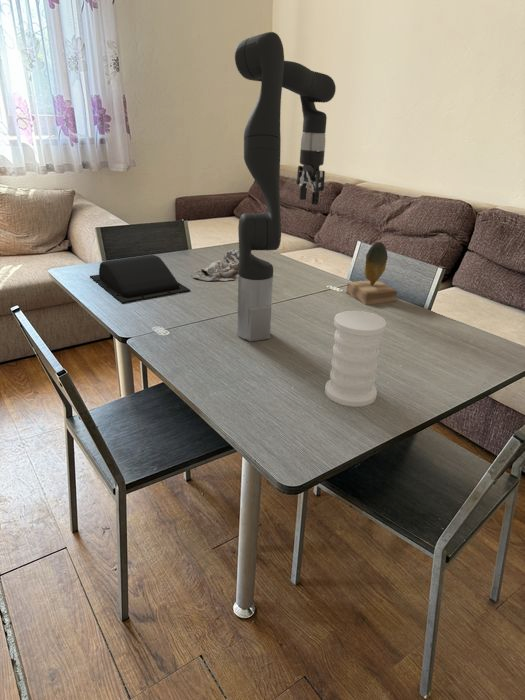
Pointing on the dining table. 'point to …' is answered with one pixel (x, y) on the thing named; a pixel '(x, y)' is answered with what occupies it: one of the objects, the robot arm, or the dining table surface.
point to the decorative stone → (375, 262)
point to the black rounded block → (137, 279)
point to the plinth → (371, 292)
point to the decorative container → (355, 358)
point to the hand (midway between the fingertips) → (308, 201)
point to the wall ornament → (221, 268)
